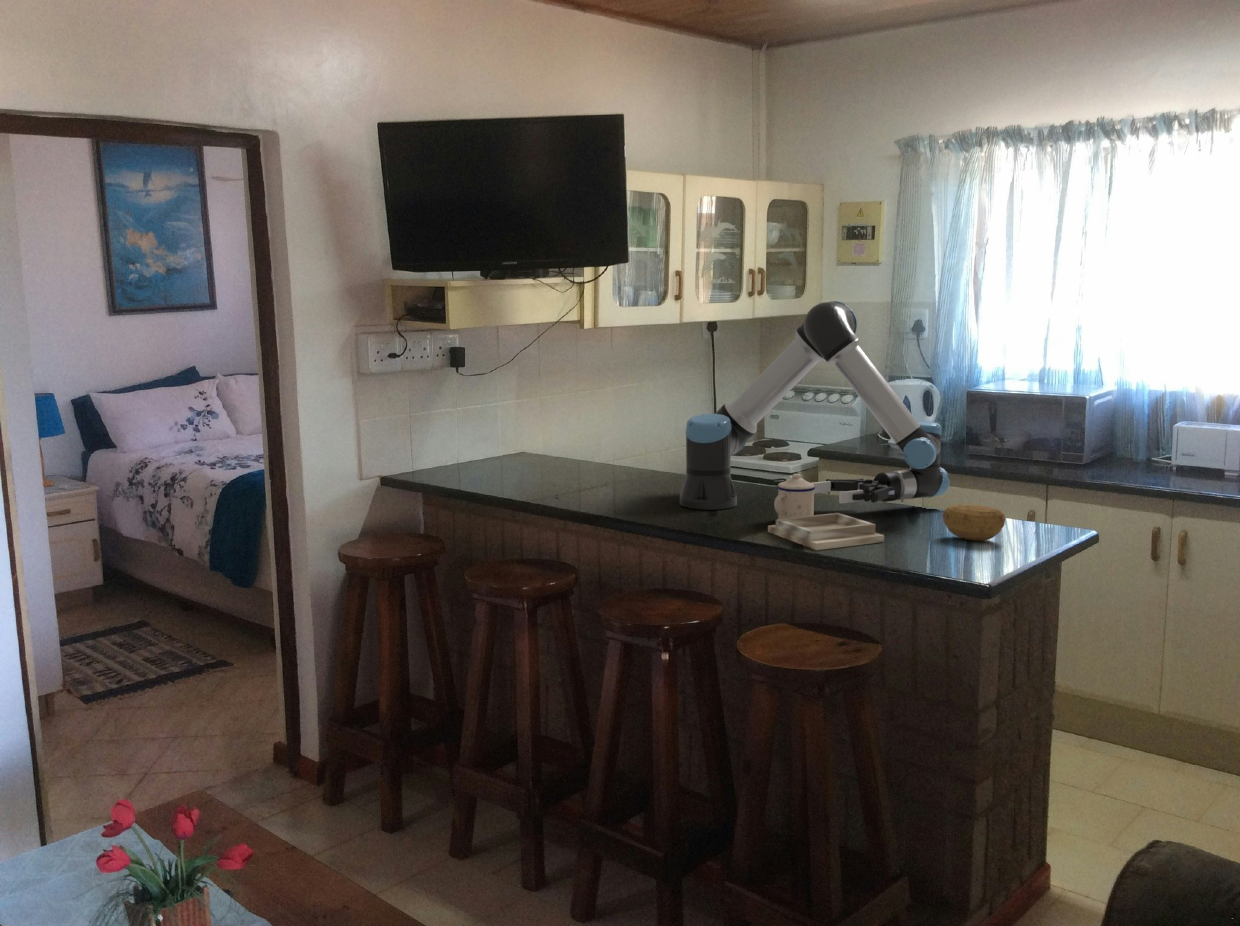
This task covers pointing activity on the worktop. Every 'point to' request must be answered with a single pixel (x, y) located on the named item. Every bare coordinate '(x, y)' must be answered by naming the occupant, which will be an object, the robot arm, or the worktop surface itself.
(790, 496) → the teacup with lid
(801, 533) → the cradle board
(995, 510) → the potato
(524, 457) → the worktop surface
